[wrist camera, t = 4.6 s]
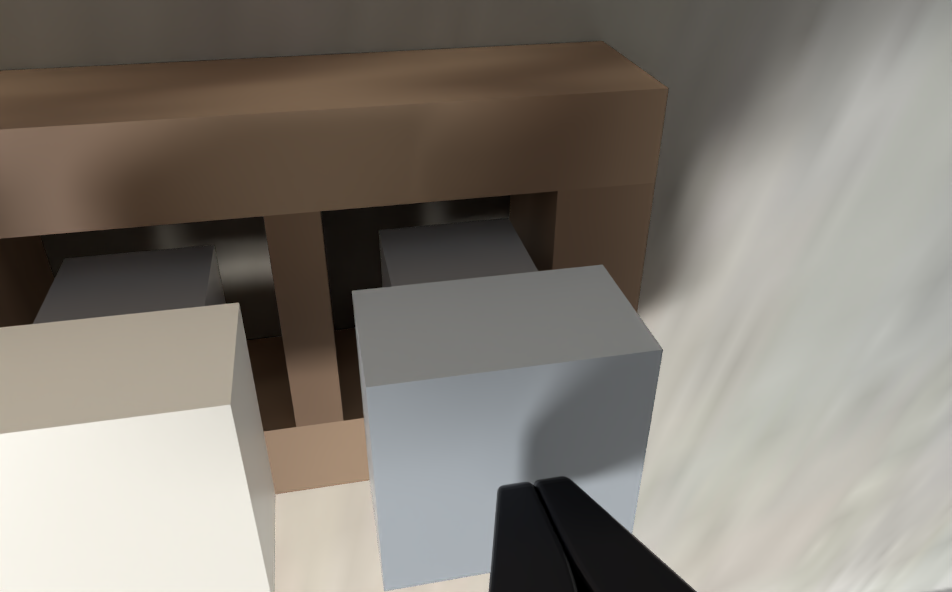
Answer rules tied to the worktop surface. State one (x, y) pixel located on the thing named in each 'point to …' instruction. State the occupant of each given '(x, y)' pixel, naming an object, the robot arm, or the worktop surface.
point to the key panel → (329, 183)
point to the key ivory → (133, 434)
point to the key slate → (492, 391)
